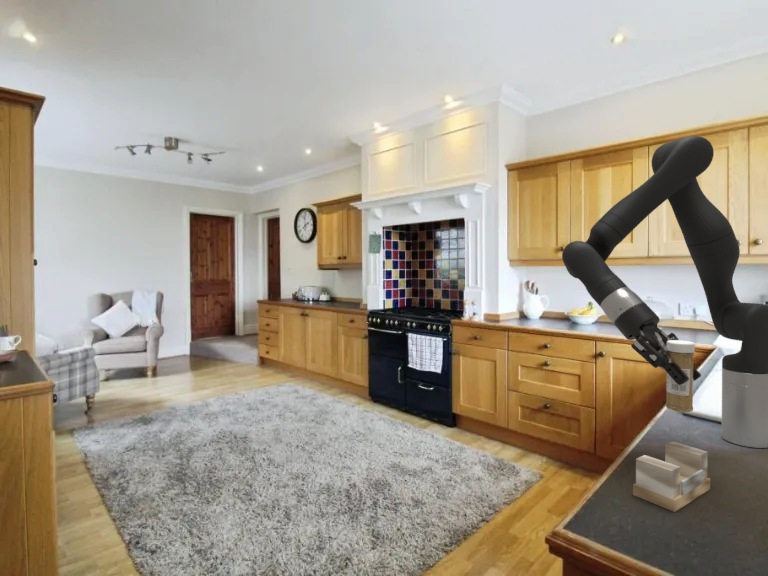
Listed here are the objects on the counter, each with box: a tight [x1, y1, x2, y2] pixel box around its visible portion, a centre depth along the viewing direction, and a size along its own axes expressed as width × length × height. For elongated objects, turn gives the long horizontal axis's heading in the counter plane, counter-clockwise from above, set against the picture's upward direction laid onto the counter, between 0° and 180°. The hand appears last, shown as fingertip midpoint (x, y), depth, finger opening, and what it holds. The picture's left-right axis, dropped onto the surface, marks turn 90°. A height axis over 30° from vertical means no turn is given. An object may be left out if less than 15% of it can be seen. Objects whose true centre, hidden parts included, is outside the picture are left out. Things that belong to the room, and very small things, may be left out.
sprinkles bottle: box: [665, 339, 696, 413], centre depth 85 cm, size 5×5×13 cm
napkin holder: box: [632, 441, 711, 513], centre depth 81 cm, size 14×7×7 cm, turn 122°
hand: (690, 380), depth 83 cm, fingers closed on sprinkles bottle, 4 cm apart
